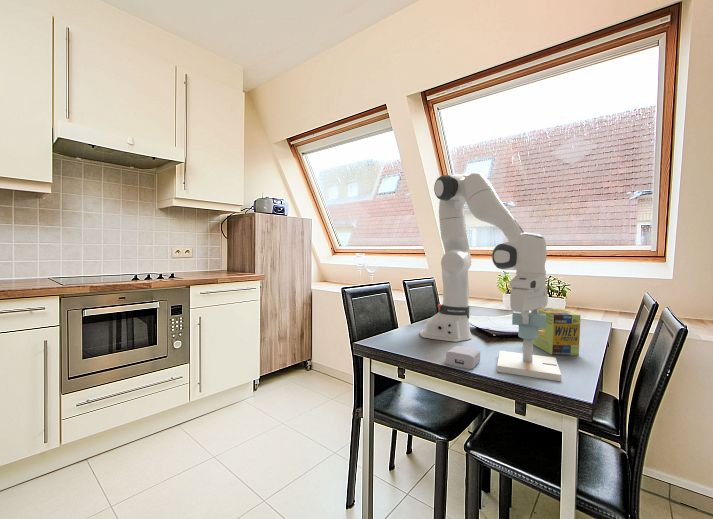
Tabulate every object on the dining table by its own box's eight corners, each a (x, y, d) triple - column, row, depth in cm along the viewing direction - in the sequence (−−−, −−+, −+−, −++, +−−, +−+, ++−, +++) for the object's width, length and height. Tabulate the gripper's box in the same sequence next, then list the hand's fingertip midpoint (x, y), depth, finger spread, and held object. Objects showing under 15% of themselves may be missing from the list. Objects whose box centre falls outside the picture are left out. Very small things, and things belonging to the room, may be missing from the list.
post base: (497, 371, 112) (497, 341, 112) (499, 355, 128) (500, 329, 128) (561, 381, 104) (562, 348, 104) (555, 363, 121) (556, 335, 120)
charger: (484, 358, 126) (473, 370, 114) (459, 353, 131) (445, 364, 119) (484, 345, 126) (473, 355, 113) (459, 341, 131) (446, 350, 119)
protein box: (552, 355, 130) (553, 314, 129) (531, 343, 145) (532, 307, 145) (579, 355, 130) (581, 314, 129) (556, 344, 145) (557, 307, 145)
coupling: (511, 337, 115) (512, 313, 115) (512, 333, 121) (512, 310, 120) (545, 341, 111) (546, 316, 111) (544, 336, 116) (545, 313, 116)
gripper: (534, 279, 124) (533, 317, 125) (506, 282, 111) (505, 324, 111) (553, 280, 119) (552, 320, 120) (526, 283, 106) (525, 328, 107)
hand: (529, 322), depth 116 cm, fingers closed on coupling, 4 cm apart
